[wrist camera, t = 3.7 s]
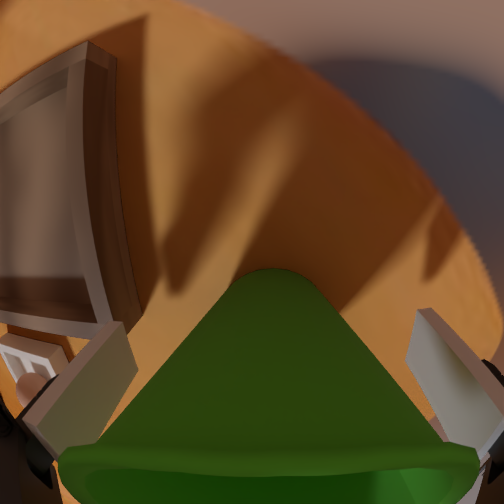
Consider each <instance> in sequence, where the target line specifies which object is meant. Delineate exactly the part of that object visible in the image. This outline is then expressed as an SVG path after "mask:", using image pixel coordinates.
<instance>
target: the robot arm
mask: <svg viewBox="0 0 504 504" xmlns="http://www.w3.org/2000/svg"><path fill="white" fill-rule="evenodd" d="M405 362H406V363H407V365H408V367H409V368H410V370H411V372H412V373H413V375H414V377H415V378H416V380H417V382H418V383H419V385H420V387H421V389H422V390H423V392H424V394H425V396H426V398H427V399H428V401H429V403H430V405H431V407H432V408H433V410H434V412H435V414H436V416H437V418H438V419H439V421H440V423H441V425H442V427H443V429H444V431H445V433H446V435H447V437H448V439H449V441H450V442H453V443H457V444H460V445H464V446H468V447H472V448H475V449H476V452H477V454H478V457H479V459H480V460H481V459H482V458H483V456H484V455H485V454H486V453H487V452H489V454H490V458H489V459H488V460H487V461H486V462H485V463H484V464H483V466H482V467H481V468H480V469H479V474H480V473H481V472H482V471H483V470H484V468H485V472H484V473H483V474H482V475H483V480H482V483H481V487H480V490H479V494H478V497H477V500H476V503H475V504H504V376H503V375H501V372H500V371H499V370H498V369H497V368H496V367H495V366H494V365H493V364H492V363H490V362H488V361H487V360H485V359H483V360H480V359H479V358H478V356H477V355H476V354H475V353H474V352H473V351H472V350H471V349H470V348H469V346H468V345H467V344H466V343H465V342H464V341H463V340H462V339H461V338H460V337H459V336H458V335H457V334H456V333H455V331H454V330H453V329H452V328H451V327H450V326H449V325H448V324H447V323H446V322H445V321H444V320H443V319H442V318H441V317H440V316H439V315H438V314H437V313H436V312H435V311H434V310H433V309H432V308H425V309H418V310H417V312H416V317H415V322H414V326H413V331H412V335H411V339H410V344H409V348H408V351H407V355H406V359H405ZM137 372H138V367H137V364H136V362H135V359H134V356H133V353H132V350H131V347H130V344H129V341H128V338H127V335H126V331H125V328H124V325H123V322H118V321H108V322H107V323H106V324H105V325H104V327H103V328H102V329H101V330H100V331H99V332H98V333H97V334H96V335H95V336H94V337H93V338H92V339H91V340H90V341H89V342H88V343H87V345H86V346H85V347H84V348H83V349H82V350H81V351H80V352H79V353H78V354H77V355H76V356H75V358H74V359H73V360H72V361H71V362H70V363H69V364H68V365H67V366H66V368H65V369H64V370H63V371H62V372H61V373H60V374H58V375H56V376H54V377H53V378H51V379H50V380H48V382H47V383H46V384H45V385H44V386H43V387H42V390H40V391H39V392H38V393H37V394H36V396H34V398H33V399H32V400H31V401H30V402H29V404H28V405H27V406H26V407H25V408H24V409H23V411H22V412H21V413H20V414H19V416H18V417H17V418H16V419H14V417H13V416H12V414H11V413H10V412H9V410H8V409H7V407H6V406H5V404H4V403H3V401H2V399H1V397H0V504H63V502H62V498H61V494H60V489H59V484H58V479H57V474H56V470H55V467H54V466H53V465H52V463H53V461H54V460H56V462H57V463H58V457H59V456H60V455H61V454H62V453H63V452H64V450H65V449H66V448H67V447H71V446H79V445H87V444H93V443H96V442H97V440H98V438H99V437H100V435H101V433H102V431H103V430H104V428H105V426H106V424H107V423H108V421H109V419H110V417H111V416H112V414H113V412H114V410H115V409H116V407H117V405H118V404H119V402H120V400H121V398H122V397H123V395H124V393H125V392H126V390H127V388H128V387H129V385H130V383H131V382H132V380H133V378H134V377H135V375H136V373H137Z"/></svg>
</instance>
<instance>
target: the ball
mask: <svg viewBox="0 0 504 504" xmlns="http://www.w3.org/2000/svg"><path fill="white" fill-rule="evenodd" d="M47 382H48V381H47V380H46V379H45V378H44V377H43V376H41V375H39V374H37V373H33V372H29V373H25V374H23V375H22V376H21V377H20V378H19V379H18V381H17V384H16V394H17V397H18V400H19V402H20V403H21V405H22V406H23V407H24V408H25V407H26V406H27V405H28V404H29V402H30V401H31V400H32V399H33V398H34V396H36V394H37V393H38V392H39V391H40V390H42V387H43V386H44V385H45V384H46V383H47Z"/></svg>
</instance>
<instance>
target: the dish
mask: <svg viewBox="0 0 504 504" xmlns="http://www.w3.org/2000/svg"><path fill="white" fill-rule="evenodd" d="M0 353H1V355H2V357H3V359H4V361H5V363H6V365H7V367H8V369H9V371H10V373H11V374H12V376H13V378H14V380H15V382H16V383H17V381H18V379H19V378H20V377H21V376H22V375H23V374H25V373H29V372H33V373H37V374H39V375H41V376H43V377H44V378H45V379H46V380H47V381H48V380H50V379H51V378H53V377H54V376H56V375H58V374H60V373H61V372H62V371H63V370H64V369H65V368H66V366H67V365H68V364H69V362H68V360H67V358H66V355H65V353H64V351H63V348H62V346H61V345H56V344H51V343H46V342H42V341H38V340H34V339H30V338H26V337H22V336H18V335H14V334H11V333H6V334H5V335H3V336H2V337H1V338H0Z"/></svg>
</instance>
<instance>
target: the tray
mask: <svg viewBox="0 0 504 504" xmlns="http://www.w3.org/2000/svg"><path fill="white" fill-rule="evenodd" d="M116 61H117V58H116V57H114V56H113V55H111V54H109V53H108V52H106V51H105V50H103V49H101V48H100V47H98V46H96V45H94V44H93V43H91V42H89V41H86V42H84V43H82V44H80V45H78V46H76V47H74V48H72V49H70V50H68V51H66V52H64V53H62V54H60V55H59V56H57V57H55V58H53V59H51V60H50V61H48V62H46V63H45V64H43V65H41V66H40V67H38V68H36V69H35V70H33V71H32V72H30V73H29V74H27V75H26V76H24V77H23V78H21V79H20V80H18V81H17V82H15V83H14V84H13V85H11V86H10V87H9V88H7V89H6V90H5V91H3V92H2V93H1V94H0V322H2V323H6V324H10V325H14V326H18V327H23V328H27V329H32V330H37V331H42V332H47V333H52V334H58V335H64V336H70V337H76V338H83V339H90V340H91V339H92V338H93V337H94V336H95V335H96V334H97V333H98V332H99V331H100V330H101V329H102V328H103V327H104V325H105V324H106V323H107V322H108V321H118V322H123V325H124V328H125V331H126V335H127V334H128V333H129V332H130V331H131V329H132V328H133V327H134V326H135V324H136V323H137V322H138V321H139V319H140V318H141V317H142V316H143V315H142V311H141V307H140V303H139V299H138V294H137V290H136V285H135V281H134V276H133V271H132V266H131V261H130V256H129V250H128V245H127V239H126V232H125V226H124V219H123V212H122V204H121V196H120V186H119V176H118V164H117V149H116V126H115V83H116Z"/></svg>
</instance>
